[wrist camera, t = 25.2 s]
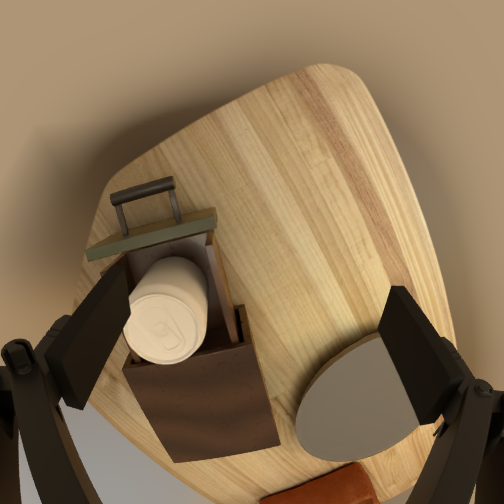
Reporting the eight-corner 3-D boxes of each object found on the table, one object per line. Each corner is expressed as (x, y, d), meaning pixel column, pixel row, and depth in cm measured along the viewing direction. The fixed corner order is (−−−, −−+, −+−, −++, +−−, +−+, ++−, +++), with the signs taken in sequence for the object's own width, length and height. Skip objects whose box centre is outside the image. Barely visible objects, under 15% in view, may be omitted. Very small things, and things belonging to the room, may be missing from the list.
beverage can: (185, 242, 37) (171, 271, 26) (221, 297, 39) (223, 344, 28) (132, 276, 37) (100, 315, 26) (168, 327, 39) (153, 380, 28)
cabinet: (140, 327, 41) (121, 369, 31) (244, 303, 42) (253, 343, 32) (179, 414, 45) (174, 463, 35) (268, 397, 46) (281, 445, 36)
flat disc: (262, 372, 45) (266, 390, 41) (421, 289, 45) (437, 298, 40) (318, 463, 52) (323, 479, 48) (438, 398, 52) (448, 410, 48)
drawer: (101, 198, 36) (71, 205, 27) (205, 168, 37) (202, 166, 28) (148, 343, 41) (135, 380, 32) (244, 322, 42) (251, 357, 33)
